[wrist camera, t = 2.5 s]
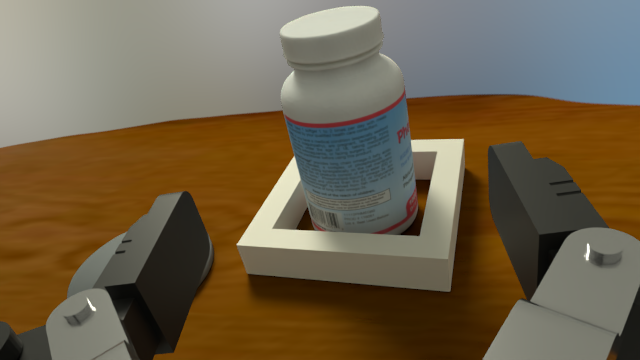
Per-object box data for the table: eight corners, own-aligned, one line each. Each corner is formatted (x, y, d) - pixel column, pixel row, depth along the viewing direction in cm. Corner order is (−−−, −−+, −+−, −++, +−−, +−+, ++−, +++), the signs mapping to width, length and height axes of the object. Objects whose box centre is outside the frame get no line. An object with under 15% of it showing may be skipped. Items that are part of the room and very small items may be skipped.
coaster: (40, 320, 25) (34, 312, 25) (131, 224, 31) (127, 217, 31) (163, 339, 22) (159, 331, 22) (237, 230, 29) (234, 222, 28)
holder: (247, 273, 25) (236, 245, 24) (309, 167, 33) (303, 142, 32) (450, 291, 21) (447, 259, 20) (465, 167, 30) (463, 139, 28)
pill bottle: (438, 228, 25) (422, 14, 19) (331, 267, 24) (279, 55, 18) (391, 175, 30) (366, -7, 24) (301, 206, 29) (252, 24, 24)
